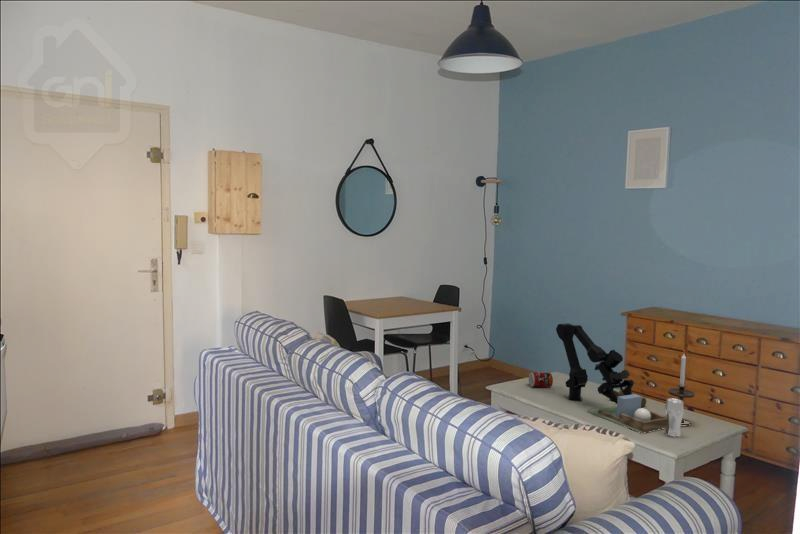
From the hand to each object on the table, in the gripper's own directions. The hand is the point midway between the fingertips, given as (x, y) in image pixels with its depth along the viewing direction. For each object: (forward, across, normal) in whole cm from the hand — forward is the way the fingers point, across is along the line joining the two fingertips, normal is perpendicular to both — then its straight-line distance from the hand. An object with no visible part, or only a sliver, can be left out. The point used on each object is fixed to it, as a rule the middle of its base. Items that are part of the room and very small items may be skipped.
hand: (625, 402), depth 271 cm
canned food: (-36, +4, +41) cm, 54 cm away
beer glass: (+22, +2, -12) cm, 25 cm away
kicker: (+7, 0, +4) cm, 8 cm away
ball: (+9, 0, -4) cm, 10 cm away
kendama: (-7, +20, +18) cm, 28 cm away
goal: (+7, 0, +4) cm, 8 cm away
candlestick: (+16, +18, -5) cm, 25 cm away
